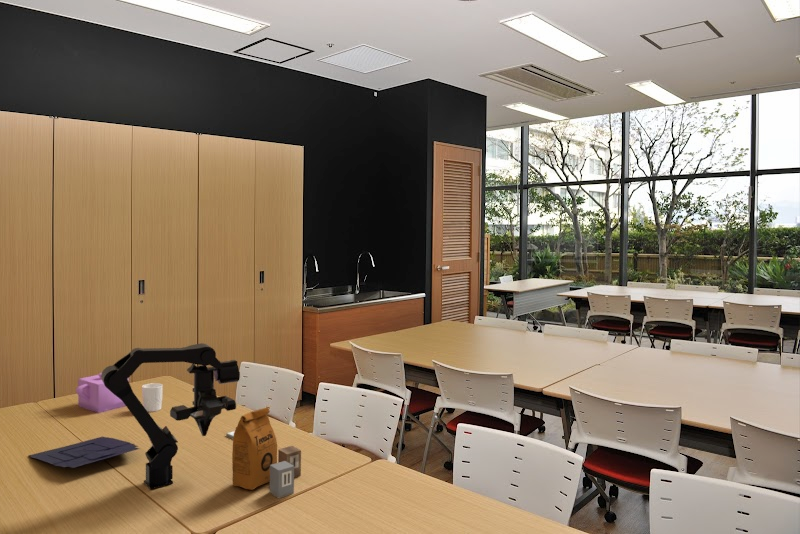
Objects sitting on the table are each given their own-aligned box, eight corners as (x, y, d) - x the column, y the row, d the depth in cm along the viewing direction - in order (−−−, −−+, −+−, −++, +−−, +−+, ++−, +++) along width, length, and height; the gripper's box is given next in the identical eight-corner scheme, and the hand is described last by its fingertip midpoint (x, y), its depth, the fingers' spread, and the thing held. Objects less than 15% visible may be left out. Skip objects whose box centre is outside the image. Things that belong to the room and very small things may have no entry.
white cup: (158, 412, 238) (157, 388, 237) (138, 412, 238) (138, 387, 237) (166, 406, 245) (165, 383, 245) (147, 406, 246) (147, 382, 245)
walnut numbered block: (287, 480, 177) (287, 454, 176) (278, 474, 181) (278, 449, 180) (301, 476, 180) (301, 450, 180) (292, 470, 184) (292, 445, 184)
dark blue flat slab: (66, 479, 171) (65, 466, 171) (27, 464, 190) (26, 453, 190) (146, 455, 190) (145, 444, 190) (103, 443, 209) (103, 433, 209)
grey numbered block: (279, 498, 165) (279, 470, 164) (269, 492, 169) (269, 464, 168) (294, 493, 168) (294, 466, 168) (284, 487, 172) (285, 460, 172)
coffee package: (282, 480, 177) (283, 408, 176) (250, 494, 167) (251, 419, 165) (259, 471, 183) (260, 402, 181) (227, 485, 172) (227, 412, 171)
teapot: (144, 401, 252) (144, 369, 251) (86, 416, 231) (86, 381, 230) (123, 395, 260) (123, 364, 259) (66, 409, 239) (66, 375, 238)
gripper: (183, 397, 166) (184, 450, 167) (244, 386, 178) (244, 436, 179) (169, 388, 174) (169, 439, 175) (228, 378, 187) (228, 426, 188)
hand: (203, 435), depth 179 cm, fingers closed
